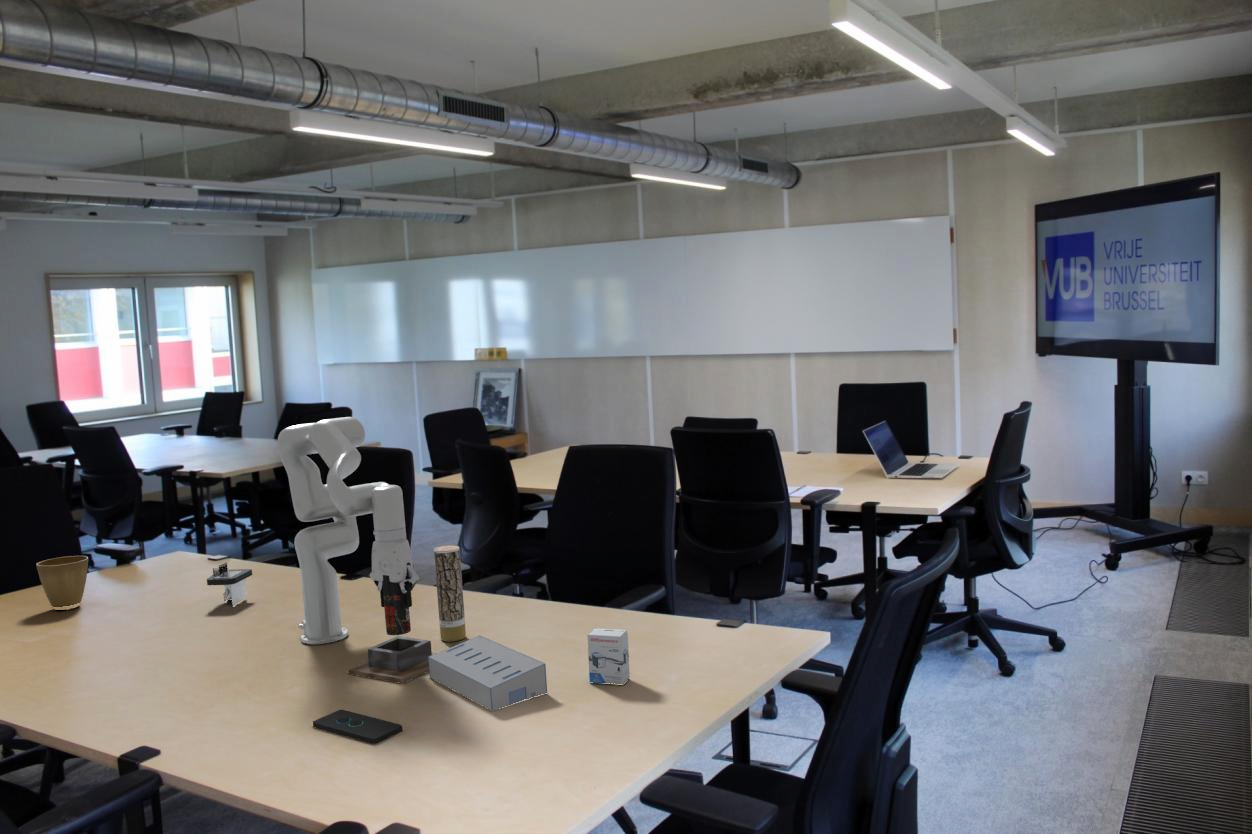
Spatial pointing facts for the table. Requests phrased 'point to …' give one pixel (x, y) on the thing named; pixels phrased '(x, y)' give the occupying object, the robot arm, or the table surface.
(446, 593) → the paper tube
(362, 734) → the smart home device
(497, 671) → the warehouse
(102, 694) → the table surface
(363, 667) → the holder
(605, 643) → the ink box
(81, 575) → the plant pot
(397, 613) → the deodorant
